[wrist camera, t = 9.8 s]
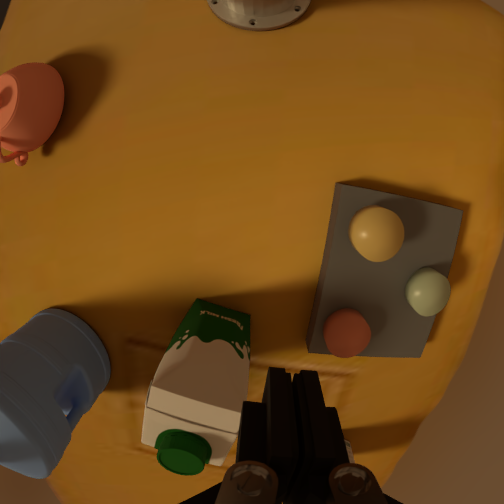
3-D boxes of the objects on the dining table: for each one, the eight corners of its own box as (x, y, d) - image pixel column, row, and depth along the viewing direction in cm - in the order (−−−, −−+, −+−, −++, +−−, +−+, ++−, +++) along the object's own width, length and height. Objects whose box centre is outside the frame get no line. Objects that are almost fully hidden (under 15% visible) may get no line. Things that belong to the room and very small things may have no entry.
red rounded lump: (324, 297, 38) (331, 315, 33) (363, 301, 38) (376, 319, 33) (315, 334, 39) (321, 356, 34) (353, 337, 39) (363, 358, 34)
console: (335, 182, 35) (342, 184, 32) (450, 207, 35) (463, 210, 32) (305, 340, 40) (308, 352, 37) (412, 346, 40) (420, 357, 37)
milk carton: (176, 346, 41) (127, 459, 22) (191, 288, 39) (134, 393, 19) (239, 366, 41) (224, 488, 22) (260, 309, 39) (257, 429, 20)
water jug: (23, 344, 43) (-74, 440, 16) (51, 285, 40) (-87, 390, 13) (89, 404, 45) (17, 524, 18) (130, 356, 42) (38, 512, 15)
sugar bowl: (80, 62, 31) (35, 41, 21) (66, 165, 35) (15, 169, 25) (18, 74, 31) (-28, 63, 21) (6, 165, 35) (-43, 171, 25)
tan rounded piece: (346, 198, 33) (360, 203, 28) (390, 206, 33) (408, 213, 28) (338, 245, 34) (349, 258, 29) (381, 251, 34) (397, 265, 29)
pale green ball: (402, 258, 36) (420, 271, 31) (436, 263, 36) (455, 276, 31) (392, 297, 37) (407, 315, 32) (425, 301, 37) (442, 317, 32)
